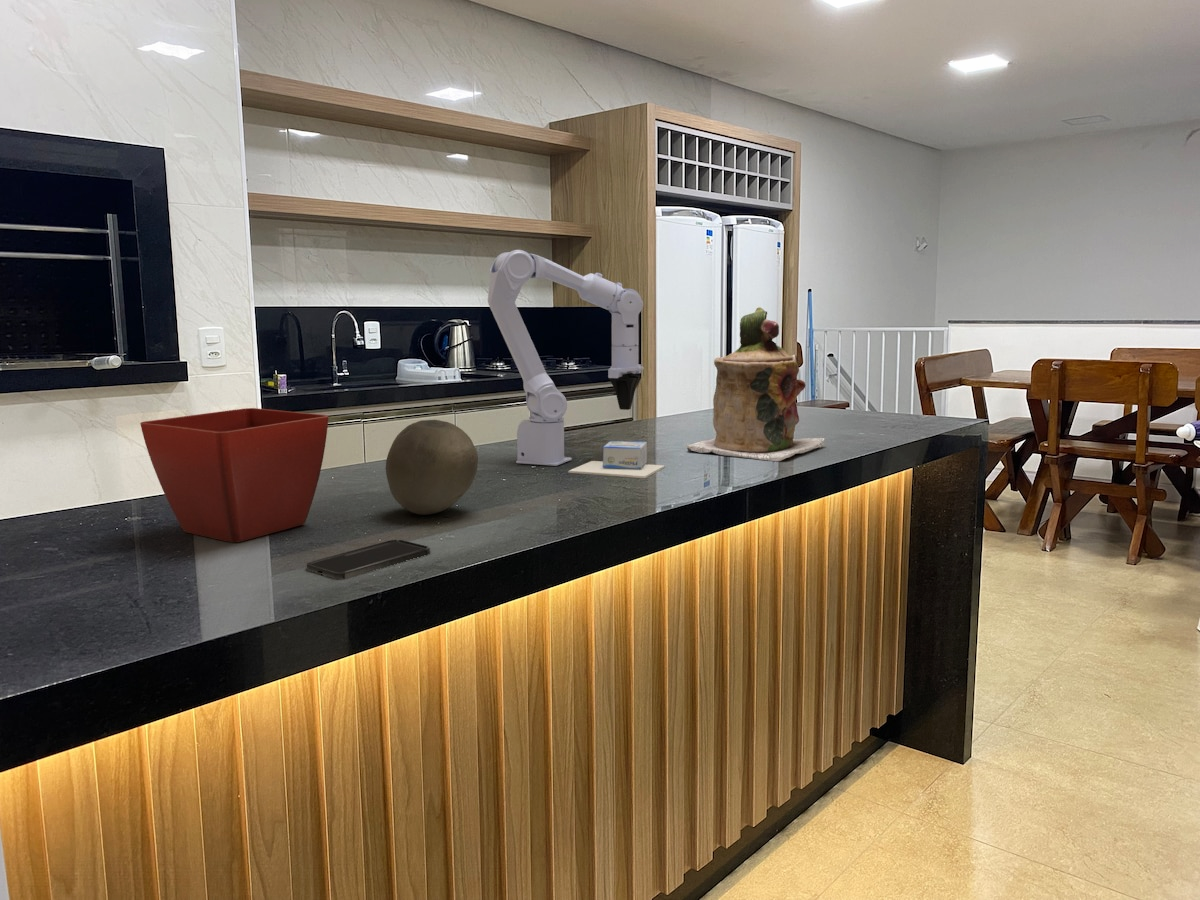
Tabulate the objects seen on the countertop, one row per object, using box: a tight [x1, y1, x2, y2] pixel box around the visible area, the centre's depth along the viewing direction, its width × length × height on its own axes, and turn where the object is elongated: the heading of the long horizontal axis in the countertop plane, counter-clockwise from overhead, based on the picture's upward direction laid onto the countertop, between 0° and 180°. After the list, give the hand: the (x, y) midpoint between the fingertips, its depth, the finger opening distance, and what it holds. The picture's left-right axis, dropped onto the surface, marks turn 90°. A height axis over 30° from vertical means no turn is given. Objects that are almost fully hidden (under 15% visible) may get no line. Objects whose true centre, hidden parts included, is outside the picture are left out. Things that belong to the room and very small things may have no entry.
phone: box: [306, 539, 431, 580], centre depth 118 cm, size 8×1×15 cm
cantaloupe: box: [385, 419, 479, 516], centre depth 143 cm, size 14×14×15 cm
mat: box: [567, 460, 666, 479], centre depth 180 cm, size 16×12×1 cm
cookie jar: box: [685, 306, 825, 462], centre depth 201 cm, size 25×25×32 cm
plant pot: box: [140, 407, 329, 543], centre depth 134 cm, size 19×19×17 cm
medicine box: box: [602, 440, 648, 469], centre depth 182 cm, size 8×4×9 cm
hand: (625, 409), depth 193 cm, fingers closed
